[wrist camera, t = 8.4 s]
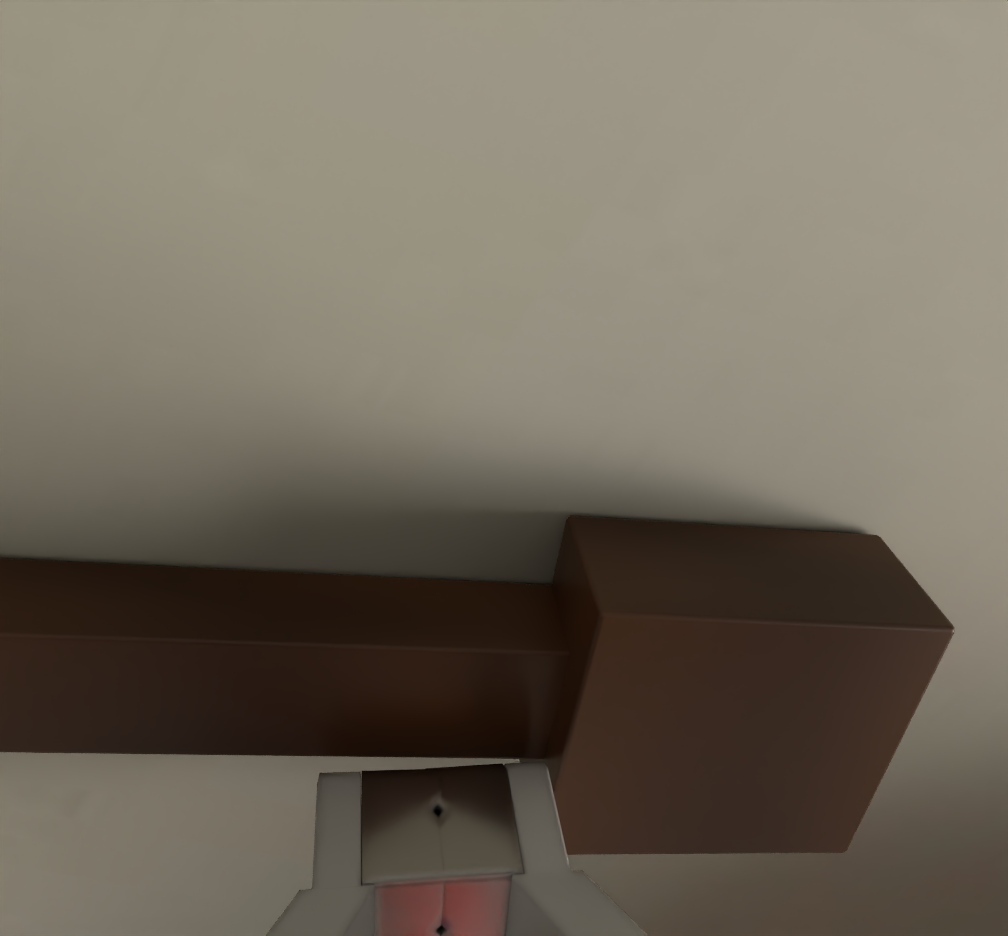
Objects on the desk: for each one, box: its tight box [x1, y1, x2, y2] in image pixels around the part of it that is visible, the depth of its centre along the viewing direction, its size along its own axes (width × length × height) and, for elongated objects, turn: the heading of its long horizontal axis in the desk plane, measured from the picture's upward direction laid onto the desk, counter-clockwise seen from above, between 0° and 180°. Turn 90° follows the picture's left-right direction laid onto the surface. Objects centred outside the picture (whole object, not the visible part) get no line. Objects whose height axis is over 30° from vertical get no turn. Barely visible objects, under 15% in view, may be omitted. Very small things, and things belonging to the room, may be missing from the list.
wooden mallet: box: [0, 516, 955, 855], centre depth 12 cm, size 13×4×2 cm, turn 81°
